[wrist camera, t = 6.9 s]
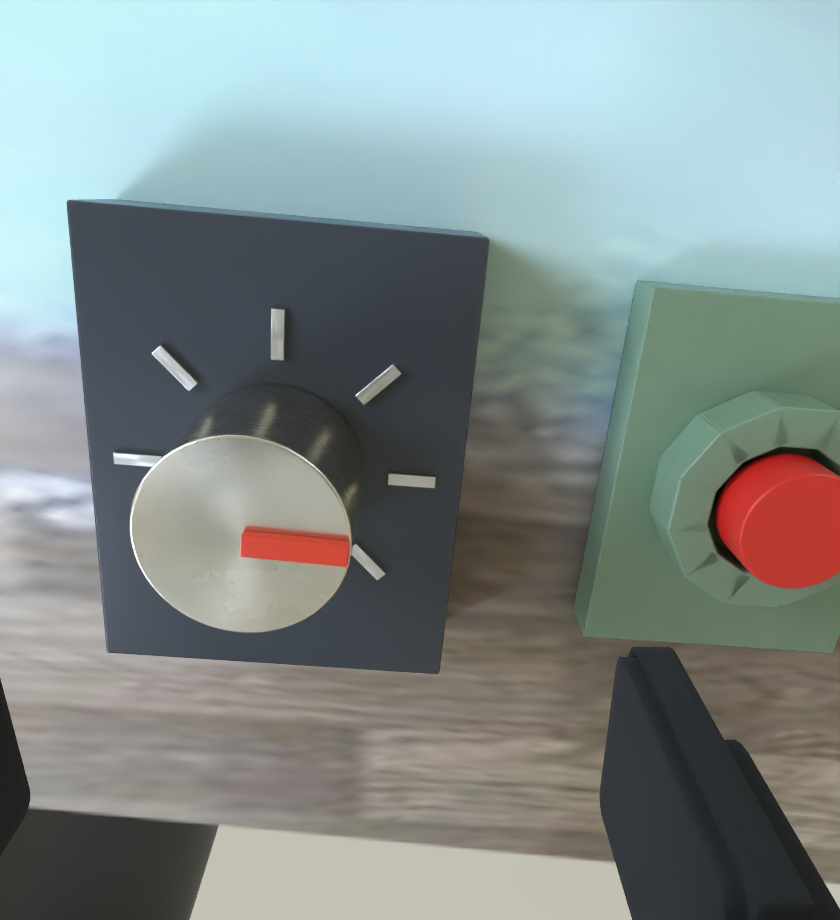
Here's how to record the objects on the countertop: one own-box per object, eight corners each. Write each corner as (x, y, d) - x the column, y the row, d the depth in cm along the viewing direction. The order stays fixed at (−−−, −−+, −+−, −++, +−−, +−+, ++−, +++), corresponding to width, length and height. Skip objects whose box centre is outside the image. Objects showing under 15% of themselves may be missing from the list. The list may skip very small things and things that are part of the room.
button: (814, 564, 22) (847, 594, 20) (702, 555, 21) (726, 585, 20) (849, 456, 20) (887, 479, 19) (730, 447, 20) (758, 469, 19)
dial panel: (436, 623, 26) (439, 678, 23) (139, 603, 25) (103, 656, 23) (480, 232, 21) (491, 238, 18) (112, 199, 21) (61, 199, 18)
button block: (808, 626, 26) (864, 687, 23) (572, 609, 26) (595, 669, 22) (916, 305, 22) (1004, 324, 19) (636, 280, 22) (675, 295, 18)
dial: (187, 538, 21) (127, 631, 17) (187, 373, 19) (118, 427, 15) (357, 555, 21) (342, 651, 17) (372, 394, 20) (360, 453, 15)
